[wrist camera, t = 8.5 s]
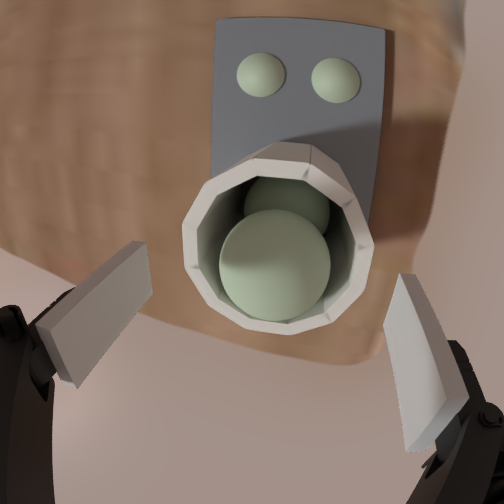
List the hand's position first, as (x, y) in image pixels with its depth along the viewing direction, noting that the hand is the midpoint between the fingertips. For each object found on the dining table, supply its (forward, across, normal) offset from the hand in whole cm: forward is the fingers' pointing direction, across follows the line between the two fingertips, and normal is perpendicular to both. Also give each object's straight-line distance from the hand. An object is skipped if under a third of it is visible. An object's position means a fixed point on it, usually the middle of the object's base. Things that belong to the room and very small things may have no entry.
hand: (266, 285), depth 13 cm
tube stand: (+13, 0, +5) cm, 14 cm away
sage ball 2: (+4, 0, -1) cm, 4 cm away
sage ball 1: (+10, 0, 0) cm, 10 cm away
